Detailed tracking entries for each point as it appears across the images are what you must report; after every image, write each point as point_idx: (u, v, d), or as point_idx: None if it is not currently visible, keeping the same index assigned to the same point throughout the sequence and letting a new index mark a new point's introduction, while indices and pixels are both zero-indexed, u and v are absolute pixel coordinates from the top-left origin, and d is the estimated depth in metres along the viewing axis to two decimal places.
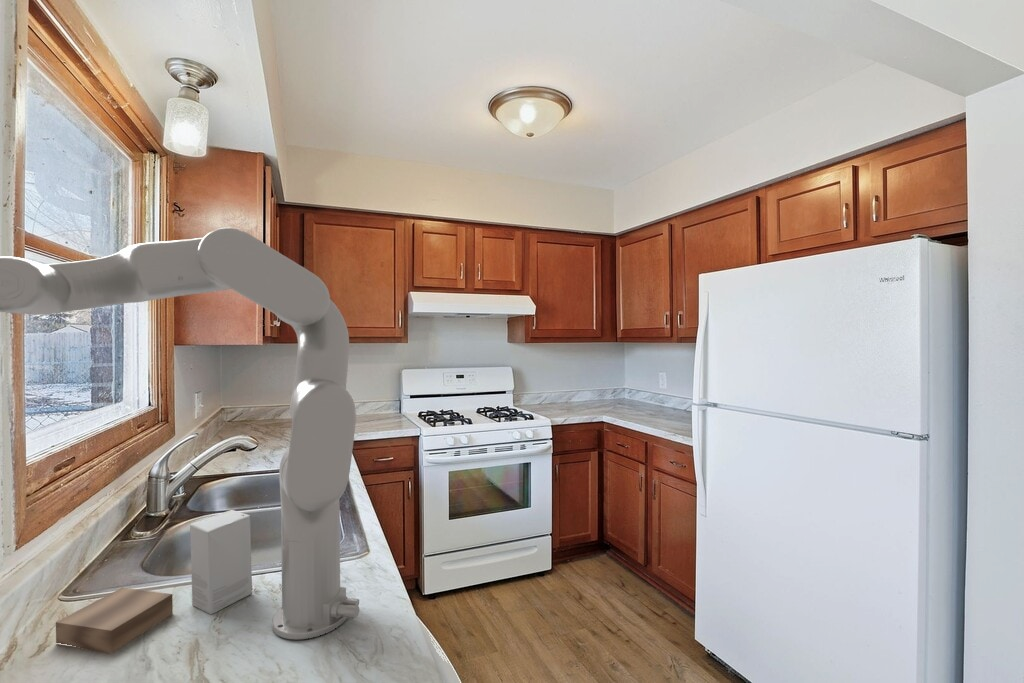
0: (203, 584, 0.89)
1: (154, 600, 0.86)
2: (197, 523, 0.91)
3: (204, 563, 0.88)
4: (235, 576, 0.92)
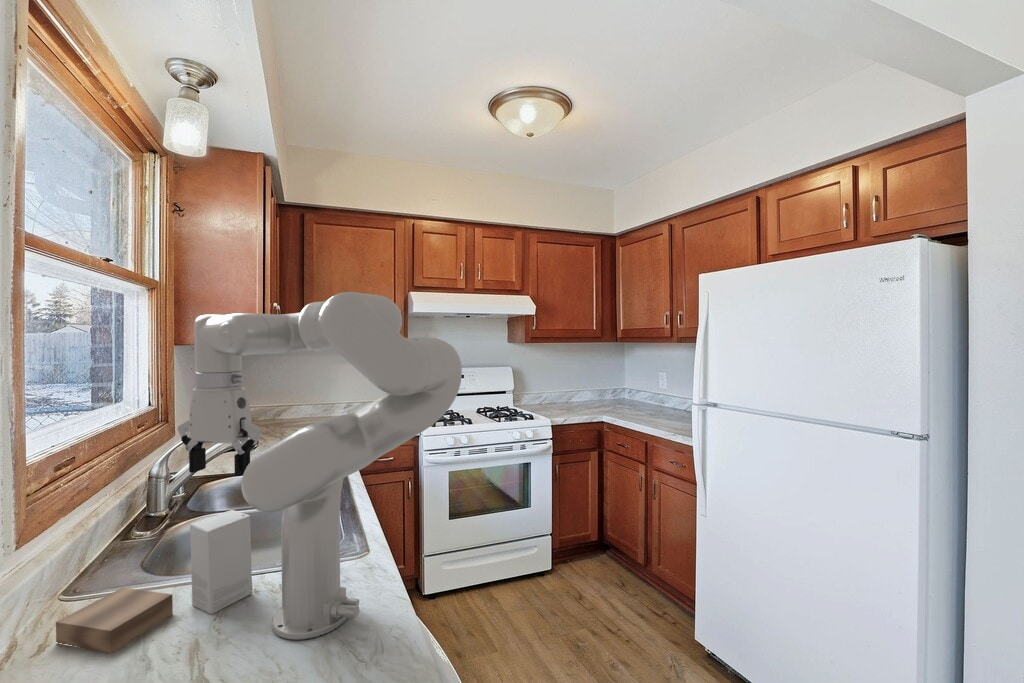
0: (203, 584, 0.89)
1: (154, 601, 0.86)
2: (197, 523, 0.91)
3: (204, 563, 0.88)
4: (235, 576, 0.92)
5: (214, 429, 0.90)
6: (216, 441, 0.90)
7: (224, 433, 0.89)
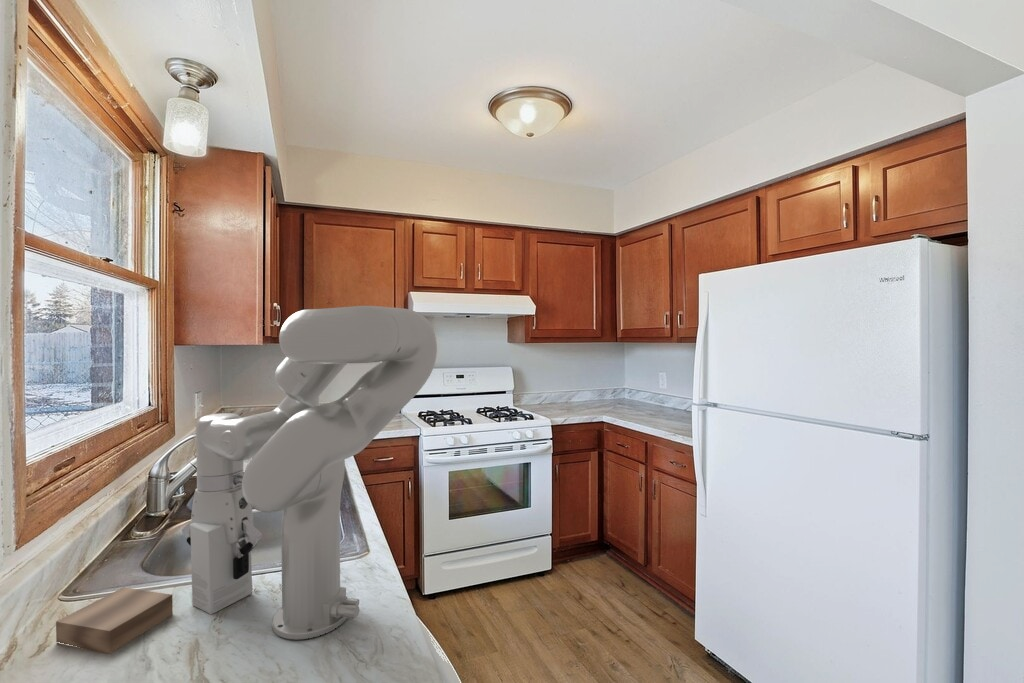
0: (204, 583, 0.89)
1: (154, 601, 0.86)
2: (197, 523, 0.91)
3: (204, 563, 0.88)
4: None
5: None
6: None
7: (226, 535, 0.90)
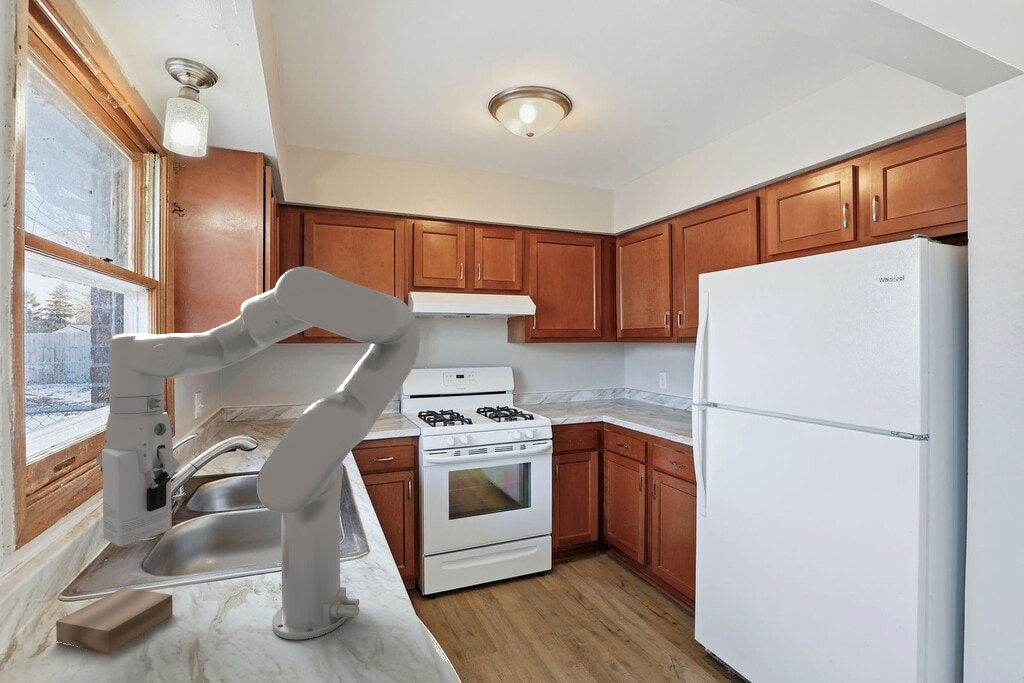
0: (113, 513, 0.82)
1: (154, 601, 0.86)
2: (110, 449, 0.84)
3: (114, 491, 0.81)
4: None
5: None
6: None
7: (139, 462, 0.83)
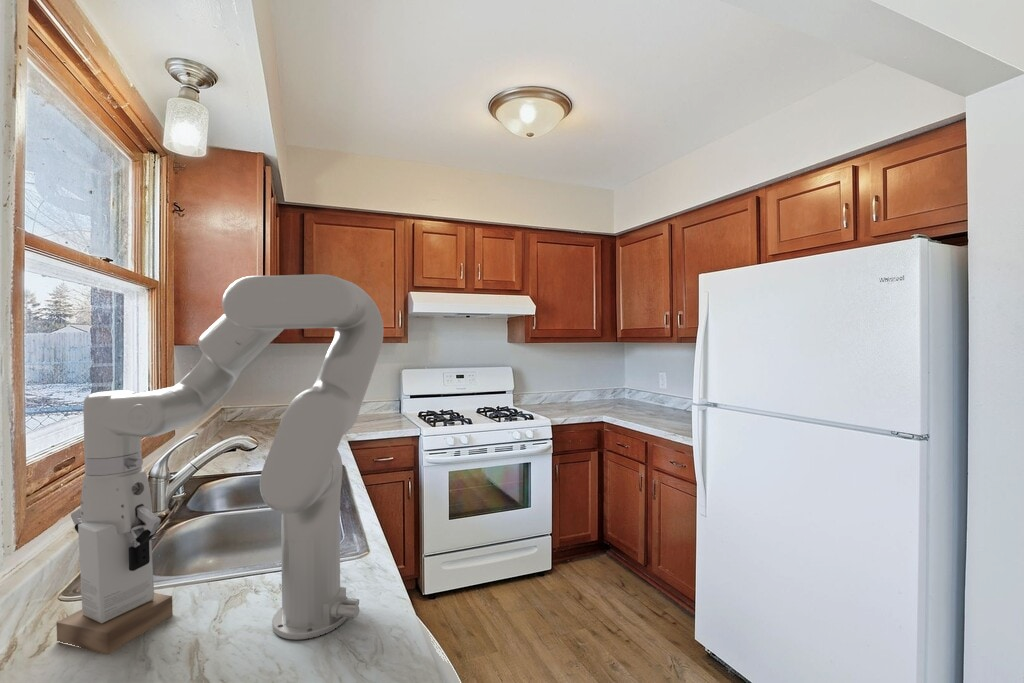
0: (93, 590, 0.80)
1: (154, 602, 0.86)
2: (86, 523, 0.82)
3: (93, 567, 0.80)
4: (132, 580, 0.83)
5: (106, 519, 0.81)
6: None
7: (117, 524, 0.81)
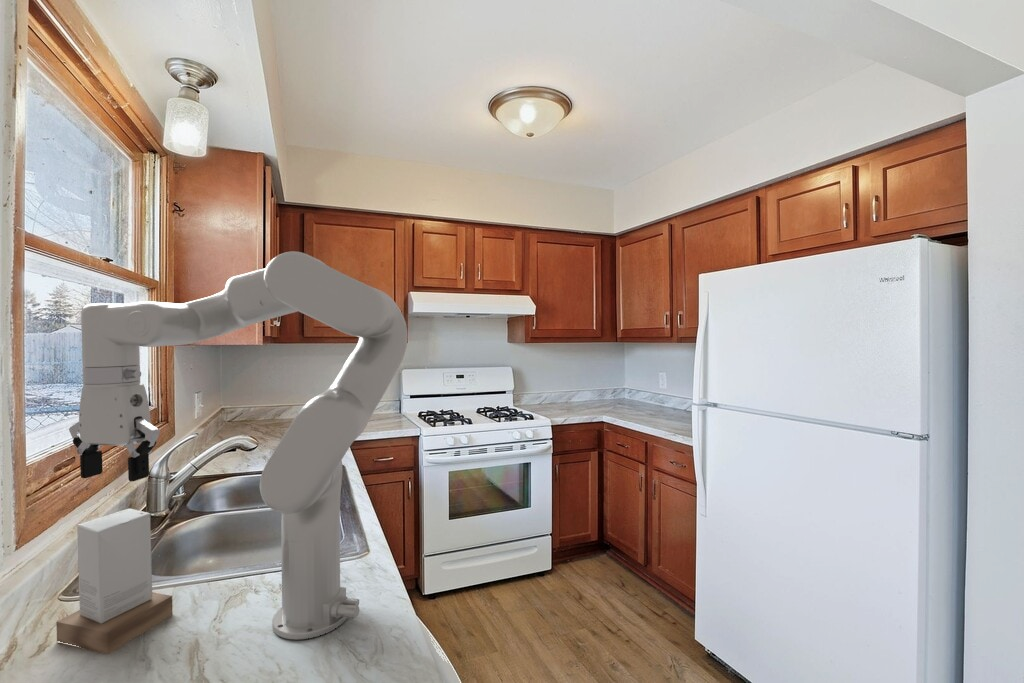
0: (92, 590, 0.80)
1: (154, 602, 0.86)
2: (86, 523, 0.82)
3: (93, 567, 0.80)
4: (132, 580, 0.83)
5: (105, 430, 0.81)
6: (108, 443, 0.81)
7: (115, 434, 0.81)
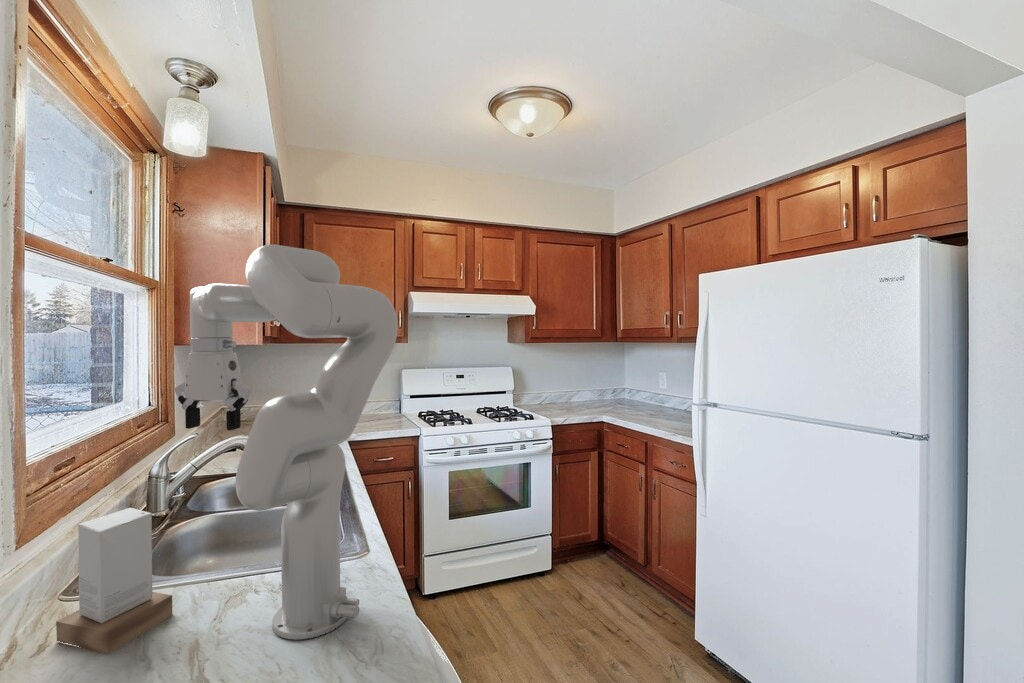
0: (93, 590, 0.80)
1: (154, 601, 0.86)
2: (87, 523, 0.81)
3: (95, 567, 0.79)
4: (133, 580, 0.83)
5: (208, 388, 1.00)
6: (210, 399, 1.01)
7: (217, 392, 1.00)
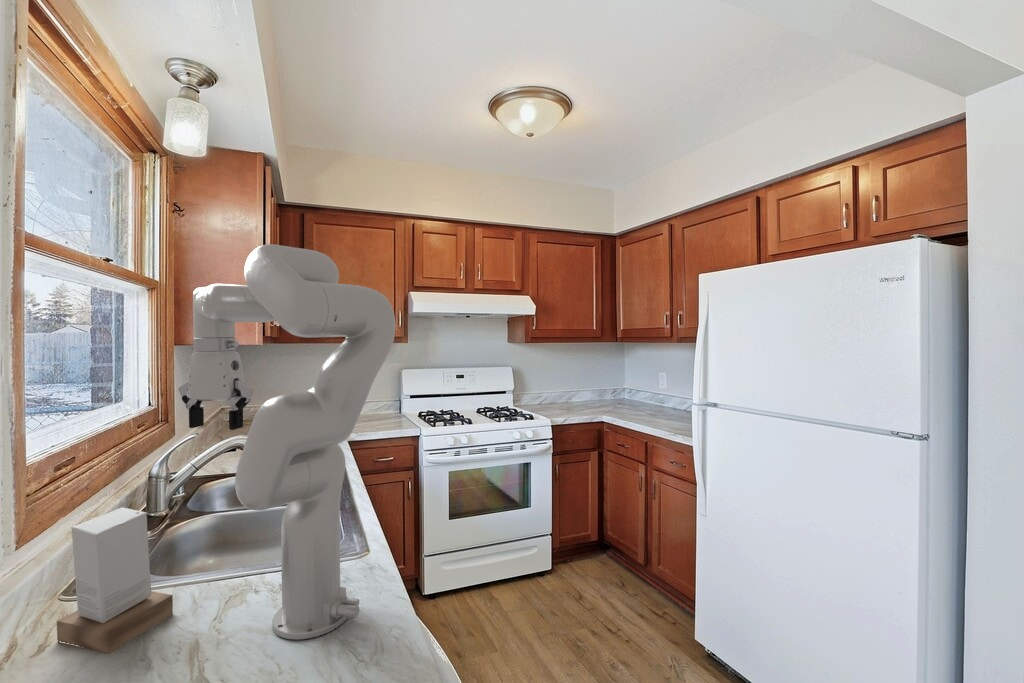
0: (92, 591, 0.80)
1: (154, 601, 0.86)
2: (81, 525, 0.80)
3: (92, 569, 0.79)
4: (131, 579, 0.83)
5: (211, 388, 1.01)
6: (213, 399, 1.02)
7: (220, 391, 1.01)
